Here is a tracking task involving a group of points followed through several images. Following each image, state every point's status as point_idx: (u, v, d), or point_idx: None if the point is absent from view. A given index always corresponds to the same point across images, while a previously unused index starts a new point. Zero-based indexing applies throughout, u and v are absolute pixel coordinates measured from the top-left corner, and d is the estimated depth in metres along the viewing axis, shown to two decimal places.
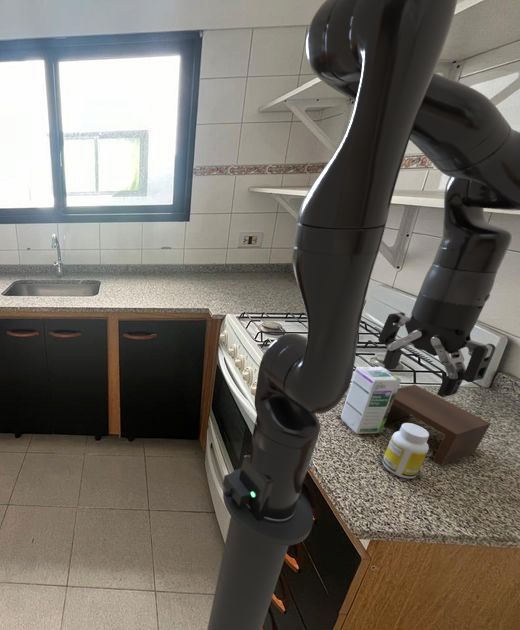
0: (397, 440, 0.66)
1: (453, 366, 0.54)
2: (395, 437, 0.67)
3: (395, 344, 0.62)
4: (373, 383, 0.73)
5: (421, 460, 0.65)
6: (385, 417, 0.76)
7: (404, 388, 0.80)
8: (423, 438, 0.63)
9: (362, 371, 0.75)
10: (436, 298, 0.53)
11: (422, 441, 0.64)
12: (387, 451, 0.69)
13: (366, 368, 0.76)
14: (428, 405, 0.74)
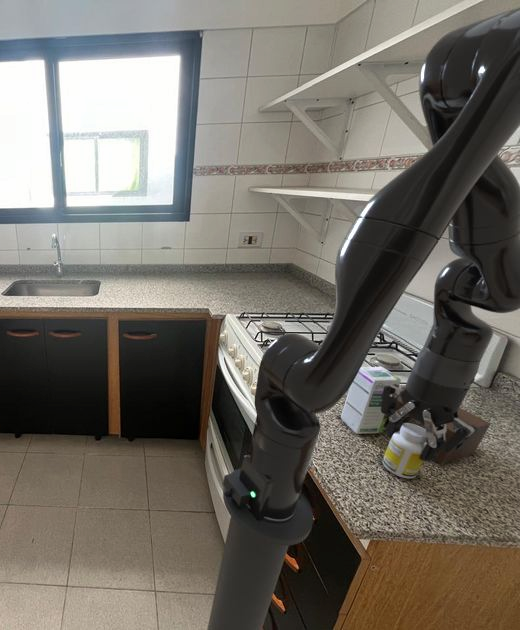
0: (397, 440, 0.66)
1: (435, 438, 0.61)
2: (395, 437, 0.67)
3: (395, 416, 0.67)
4: (373, 383, 0.73)
5: (421, 460, 0.65)
6: (385, 417, 0.76)
7: (404, 388, 0.80)
8: (423, 438, 0.63)
9: (362, 371, 0.75)
10: (427, 379, 0.59)
11: (422, 441, 0.64)
12: (387, 451, 0.69)
13: (366, 368, 0.76)
14: None
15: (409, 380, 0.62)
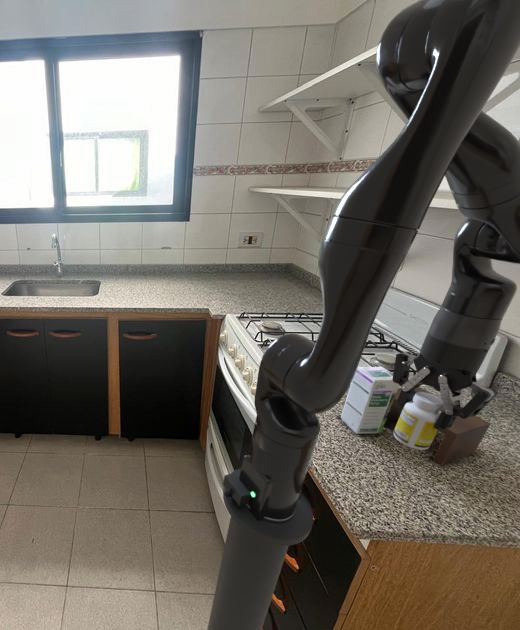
0: (410, 409, 0.63)
1: (451, 404, 0.58)
2: (407, 406, 0.64)
3: (408, 384, 0.64)
4: (373, 383, 0.73)
5: (435, 430, 0.62)
6: (385, 417, 0.76)
7: None
8: (438, 406, 0.60)
9: (362, 371, 0.75)
10: (444, 340, 0.56)
11: (437, 409, 0.61)
12: (399, 422, 0.65)
13: (366, 368, 0.76)
14: None
15: (424, 344, 0.59)
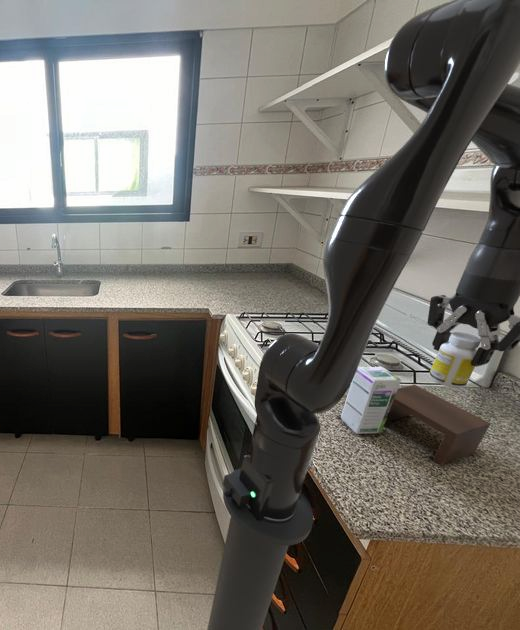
0: (446, 349, 0.65)
1: (489, 339, 0.60)
2: (444, 346, 0.66)
3: (443, 325, 0.66)
4: (373, 383, 0.73)
5: (472, 367, 0.64)
6: (385, 417, 0.76)
7: (404, 388, 0.80)
8: (475, 343, 0.62)
9: (362, 371, 0.75)
10: (482, 275, 0.58)
11: (474, 346, 0.63)
12: (435, 363, 0.68)
13: (366, 368, 0.76)
14: (428, 405, 0.74)
15: (461, 282, 0.61)
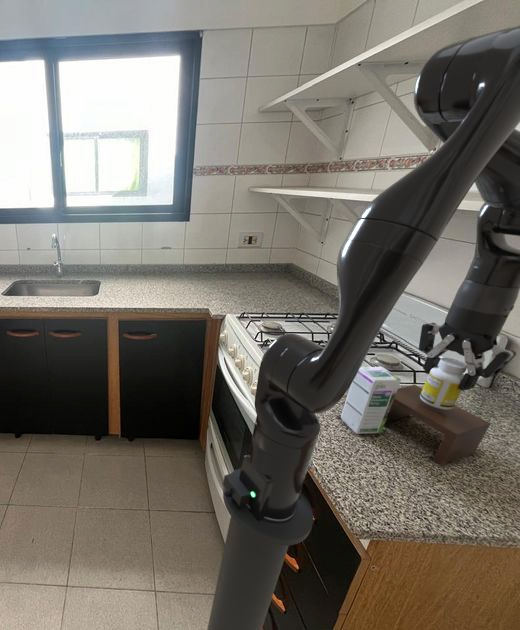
0: (436, 373, 0.70)
1: (474, 366, 0.65)
2: (433, 370, 0.71)
3: (433, 351, 0.71)
4: (373, 383, 0.73)
5: (459, 390, 0.69)
6: (385, 417, 0.76)
7: (404, 388, 0.80)
8: (462, 369, 0.68)
9: (362, 371, 0.75)
10: (468, 308, 0.63)
11: (461, 372, 0.68)
12: (425, 386, 0.73)
13: (366, 368, 0.76)
14: (428, 405, 0.74)
15: (449, 313, 0.67)
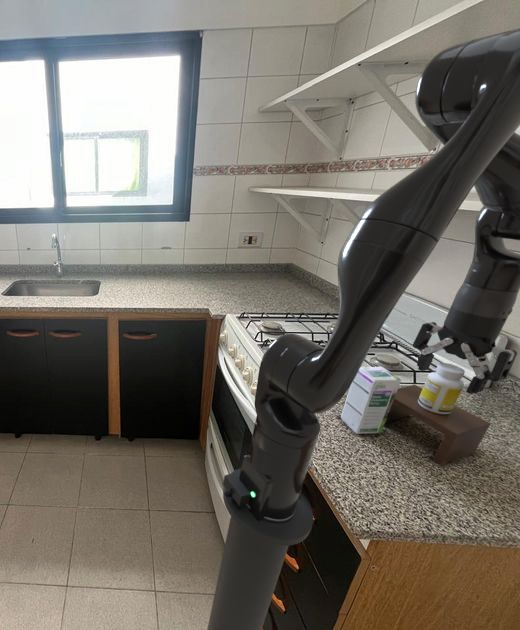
0: (433, 379, 0.71)
1: (481, 368, 0.65)
2: (431, 376, 0.72)
3: (428, 349, 0.72)
4: (373, 383, 0.73)
5: (457, 396, 0.69)
6: (385, 417, 0.76)
7: (404, 388, 0.80)
8: (459, 374, 0.68)
9: (362, 371, 0.75)
10: (467, 312, 0.63)
11: (458, 377, 0.68)
12: (423, 391, 0.73)
13: (366, 368, 0.76)
14: None
15: (448, 316, 0.67)
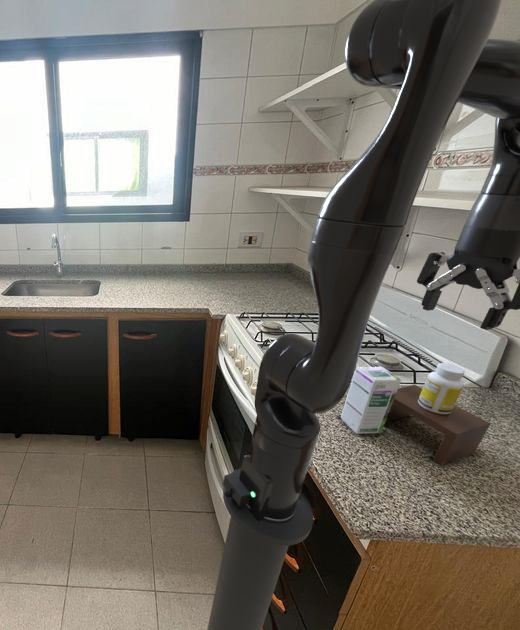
0: (433, 378, 0.71)
1: (499, 296, 0.54)
2: (431, 376, 0.72)
3: (435, 283, 0.62)
4: (373, 383, 0.73)
5: (457, 396, 0.69)
6: (385, 417, 0.76)
7: (404, 388, 0.80)
8: (459, 374, 0.68)
9: (362, 371, 0.75)
10: (484, 226, 0.53)
11: (458, 377, 0.68)
12: (423, 391, 0.73)
13: (366, 368, 0.76)
14: None
15: (460, 238, 0.57)
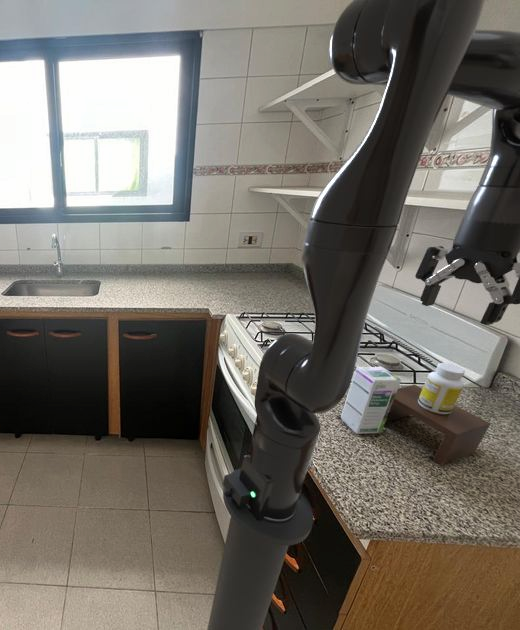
0: (433, 378, 0.71)
1: (499, 291, 0.53)
2: (431, 376, 0.72)
3: (434, 277, 0.61)
4: (373, 383, 0.73)
5: (457, 395, 0.69)
6: (385, 417, 0.76)
7: (404, 388, 0.80)
8: (459, 374, 0.68)
9: (362, 371, 0.75)
10: (482, 220, 0.52)
11: (458, 377, 0.68)
12: (423, 390, 0.73)
13: (366, 368, 0.76)
14: None
15: (458, 232, 0.55)
